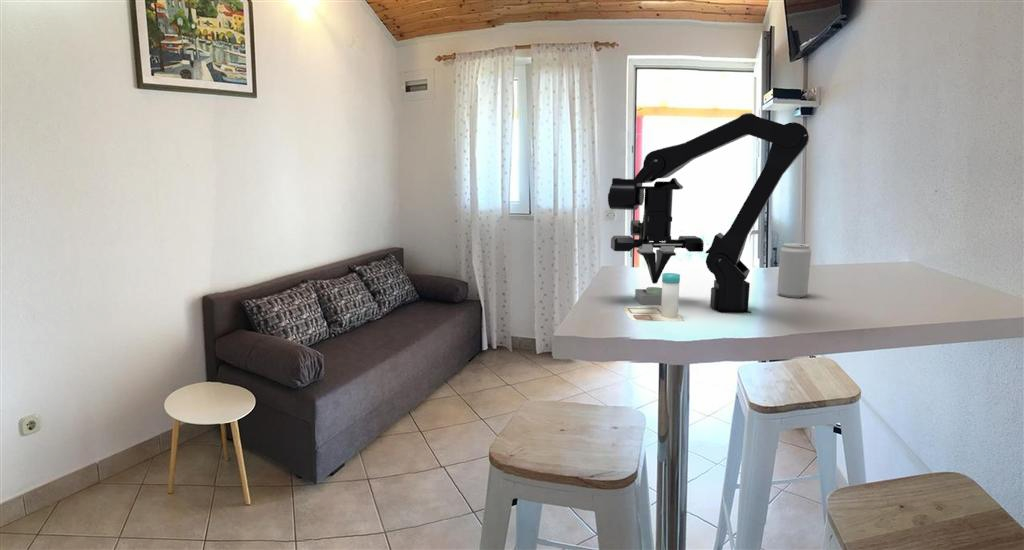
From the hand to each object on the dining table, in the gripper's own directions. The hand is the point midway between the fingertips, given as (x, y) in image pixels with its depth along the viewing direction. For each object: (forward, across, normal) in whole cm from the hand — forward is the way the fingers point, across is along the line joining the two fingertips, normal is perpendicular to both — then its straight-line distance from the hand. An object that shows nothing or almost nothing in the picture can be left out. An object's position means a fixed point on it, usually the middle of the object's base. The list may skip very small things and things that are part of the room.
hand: (654, 283), depth 130 cm
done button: (+4, 0, 0) cm, 4 cm away
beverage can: (+5, -34, -9) cm, 36 cm away
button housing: (+4, 0, 0) cm, 5 cm away
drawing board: (+4, +3, +11) cm, 12 cm away
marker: (+4, 0, +13) cm, 14 cm away
